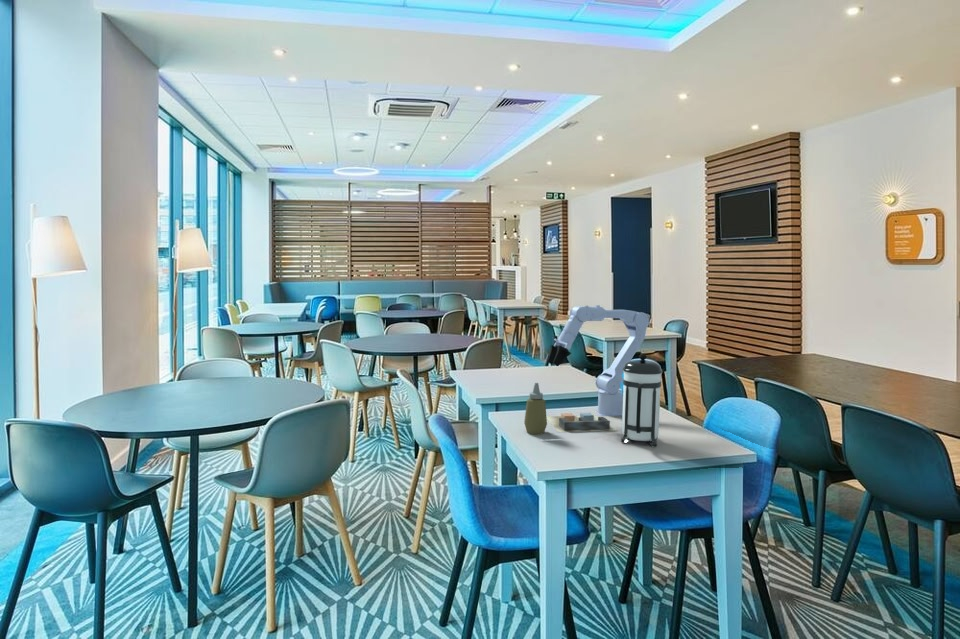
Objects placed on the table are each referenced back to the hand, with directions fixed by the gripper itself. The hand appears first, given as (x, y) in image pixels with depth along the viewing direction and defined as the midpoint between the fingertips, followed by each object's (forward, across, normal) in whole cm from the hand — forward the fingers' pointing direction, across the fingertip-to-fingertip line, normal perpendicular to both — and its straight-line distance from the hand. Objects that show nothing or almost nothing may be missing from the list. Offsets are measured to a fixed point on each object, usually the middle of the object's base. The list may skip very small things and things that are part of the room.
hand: (552, 364), depth 219 cm
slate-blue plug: (+13, +7, +20) cm, 25 cm away
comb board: (+16, +9, +18) cm, 25 cm away
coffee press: (+11, +33, +30) cm, 46 cm away
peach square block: (+17, +7, +14) cm, 23 cm away
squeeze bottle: (+26, +18, +1) cm, 32 cm away
